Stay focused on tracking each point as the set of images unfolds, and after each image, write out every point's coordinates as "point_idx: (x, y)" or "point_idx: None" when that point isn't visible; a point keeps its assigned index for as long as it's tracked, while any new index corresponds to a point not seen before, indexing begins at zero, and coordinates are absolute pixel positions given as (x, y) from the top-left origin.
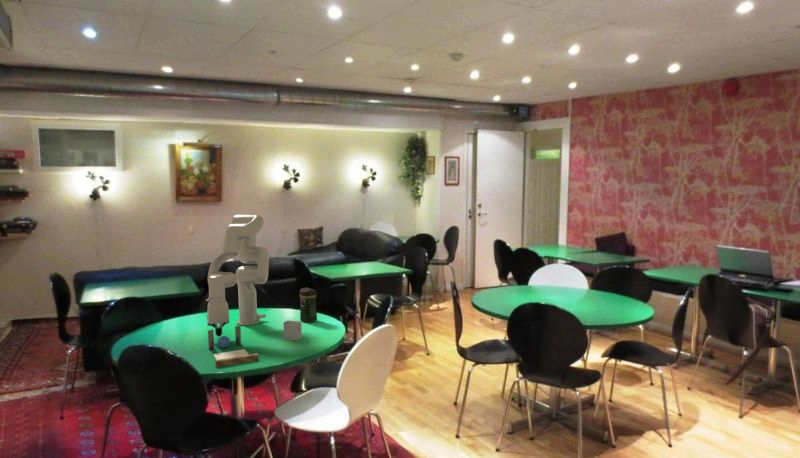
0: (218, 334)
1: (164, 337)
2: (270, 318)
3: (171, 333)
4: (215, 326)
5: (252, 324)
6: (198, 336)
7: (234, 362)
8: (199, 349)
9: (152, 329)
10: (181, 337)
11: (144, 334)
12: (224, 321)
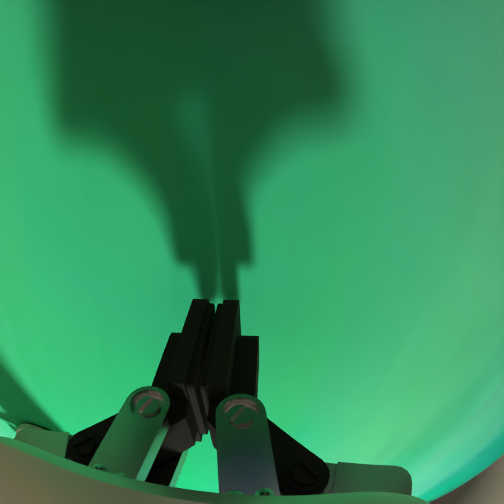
0: (226, 317)
1: (488, 432)
2: (6, 433)
3: (433, 468)
4: (260, 442)
5: (34, 426)
6: (367, 423)
7: None
8: (500, 25)
9: (440, 491)
10: (448, 424)
11: (490, 460)
12: (32, 465)
